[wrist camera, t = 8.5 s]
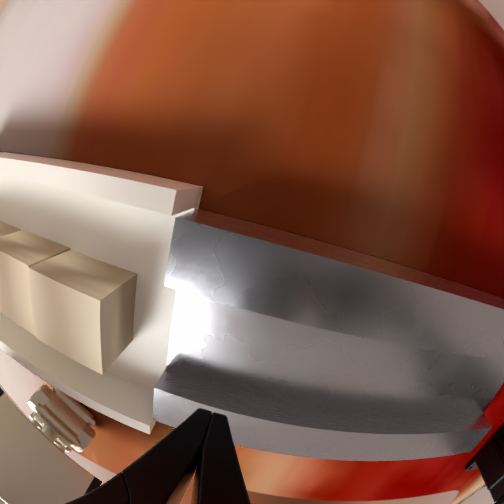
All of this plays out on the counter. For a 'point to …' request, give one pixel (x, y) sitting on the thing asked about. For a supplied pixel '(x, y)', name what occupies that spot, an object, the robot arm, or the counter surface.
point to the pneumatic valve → (44, 449)
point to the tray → (106, 250)
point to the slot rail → (324, 346)
